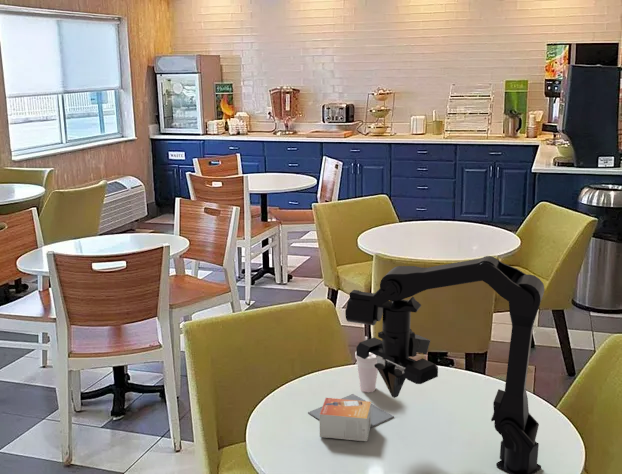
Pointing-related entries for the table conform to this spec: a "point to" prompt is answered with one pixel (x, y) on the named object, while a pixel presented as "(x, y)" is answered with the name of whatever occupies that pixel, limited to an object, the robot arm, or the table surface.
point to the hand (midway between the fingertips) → (394, 396)
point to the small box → (345, 419)
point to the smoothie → (367, 372)
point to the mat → (376, 413)
